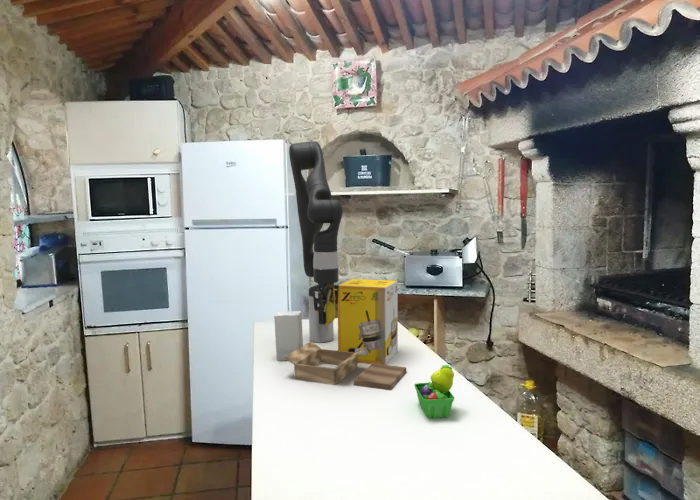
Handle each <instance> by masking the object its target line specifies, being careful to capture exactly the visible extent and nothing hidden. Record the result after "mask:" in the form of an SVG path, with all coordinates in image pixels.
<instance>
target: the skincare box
mask: <svg viewBox="0 0 700 500" xmlns="http://www.w3.org/2000/svg"><path fill="white" fill-rule="evenodd" d="M302 314H303V313H302V311H301V310H292V311H291V310H289V311H288V310H287V311H286V310H284V311H283V310H282V311H277V313H275V315H274V317H273V318H274V335H275V352H276V361H288V362H290V361H289V360H287V359H286V358H285V356H286V355H288V354H289V353H291V352H293V351H295V350H297V349H298V348H300V347H302V346H304V339H303V338H304V337H303V317H302Z"/></svg>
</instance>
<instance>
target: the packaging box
mask: <svg viewBox="0 0 700 500" xmlns="http://www.w3.org/2000/svg"><path fill="white" fill-rule="evenodd" d="M398 284H399V283H398V280H394V279H393V280H392V279H391V280H389V279H387V280H386V279H365V278H363V279H360V278H352V279H350V280H347V281H345V282H343V283H340V284H338V285H339V292H338V304H337V342H338V343H337V346H338V347H337V348H338V350H337V351H346V352H357V351H359V350H361V349H363V348H365V347H367V349H365V350H364V351H363V352H361V353H360V354H359V355H358V356H357V363H363V364H370V365H371V364H372V363H374V364H383V365H388V363H389V362H390V361H391V360H392V358H393V357H394V356H395V355H396V354H397V352H398V349H399V348H398V347H399V343H398V342H399V338H398V337H399V334H398V331H399V329H398V324H399V323H398V321H399V317H398V316H399V315H398V314H399V313H398V311H399V309H398V308H399V306H398V305H399V302H398V296H399V294H398V293H399V292H398V291H399V290H398V288H399V285H398Z"/></svg>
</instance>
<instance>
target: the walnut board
mask: <svg viewBox="0 0 700 500" xmlns="http://www.w3.org/2000/svg"><path fill="white" fill-rule="evenodd" d="M406 373H407V367H406V366H400V365H399V366H398V365H389V364H386V365H383V364H374V363H372V364H371V363H370V365H368V366H367V367H366V368H365V369H364V370H363V371H362V372H360V373H359V375H357V376H356V377H355V378H354V379H353V386H358V387H365V388H366V387H367V388H373V389H381V390H388V391H391V390H393V388H394V387H395V386H396V385H397V383H398V382H399V381H400V380H401V379H402V378H403V377H404V375H405V374H406Z"/></svg>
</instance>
